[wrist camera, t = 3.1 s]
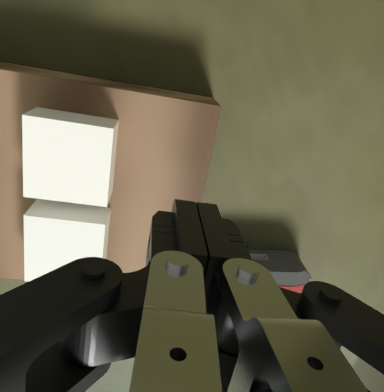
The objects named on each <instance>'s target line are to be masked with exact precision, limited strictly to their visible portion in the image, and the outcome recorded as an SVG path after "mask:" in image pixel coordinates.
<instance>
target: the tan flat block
mask: <svg viewBox="0 0 384 392" xmlns="http://www.w3.org/2000/svg"><path fill="white" fill-rule="evenodd" d="M36 107H40V108H46V109H52V110H59V111H65V112H72V113H78V114H85V115H91V116H97V117H104V118H110V119H117V120H119V126H118V136H117V147H116V158H115V169H114V180H113V191H112V194H111V197H110V200H109V203H108V206H107V208H111V213H110V224H109V235H108V246H107V257H106V259H108V260H110V261H112V262H114V263H116V264H117V265H118V266H119V267H120V268H121V270H122V272H123V273H129V272H134V271H138V270H140V269H142V268H144V267H146V253H147V247H148V240H149V234H150V228H151V222H152V216H153V215H154V214H155V213H156V212H157V211H167V212H172V207H173V202H174V199H179V200H186V201H194V202H195V203H196V202H202V197H203V192H204V187H205V182H206V177H207V172H208V167H209V162H210V157H211V152H212V147H213V142H214V137H215V132H216V127H217V122H218V117H219V112H220V107H221V106H220V105H219V104H218V102H217V101H216V100H215V99H214V98H212V97H206V96H200V95H195V94H189V93H183V92H177V91H171V90H165V89H159V88H153V87H147V86H142V85H136V84H130V83H124V82H118V81H112V80H106V79H100V78H94V77H88V76H83V75H77V74H71V73H65V72H59V71H53V70H47V69H41V68H35V67H30V66H24V65H18V64H12V63H6V62H0V277H2V278H13V279H23V280H24V216H23V215H24V214H25V213H26V212H27V210H28V209H29V208H30V207H31V205H32V204H33V203H34V202H35V201H36V198H28V197H23V149H22V114H24V113H26V112H28V111H30V110H32V109H34V108H36ZM42 200H44V199H42ZM50 201H52V200H50ZM59 202H60V201H59ZM67 203H68V202H67ZM75 204H77V203H75ZM83 205H85V204H83ZM91 206H93V205H91ZM99 207H101V206H99Z"/></svg>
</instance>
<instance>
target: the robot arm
mask: <svg viewBox="0 0 384 392" xmlns="http://www.w3.org/2000/svg"><path fill="white" fill-rule="evenodd" d="M341 346H344V347H345V348H347V349H348V350H349V351H351V352H352V353H354V354H355V355H357V356H358V357H359V358H361V359H362V360H364V361H365V362H367V363H368V364H369V365H371V366H372V367H374V368H375V369H377V370H378V371H380V372H381V373H382V374H384V315H383V314H382V313H380V312H378V311H377V310H375V309H373V308H372V307H370V306H368V305H367V304H365V303H363V302H362V301H360V300H358V299H357V298H355V297H353V296H352V295H350V294H348V293H347V292H345V291H343V290H342V289H340V288H338V287H336V286H334V285H331V284H328V283H325V282H320V281H312V282H308V283H306V284H305V285H304V287H303V290H302V293H298V292H294V291H291V290H288V289H285V288H282V287H279V286H278V285H277V283H276V281H275V280H274V278H273V276H272V275H271V273H270V272H269V271H268V270H267V269H266V268H265V267H264V266H262V265H261V264H259V263H257V262H254V261H252V258H251V256H250V254H249V251H248V249H247V247H246V245H245V244H244V240H243V238H242V237H241V233H240V231H239V229H238V227H237V226H236V225H235V224H234V223H233V222H231V221H230V220H229V219H222V218H221V215H220V212H219V210H218V207H217V205H216V204H209V203H201V202H196V203H195V202H194V201H186V200H179V199H174V202H173V207H172V212H167V211H157V212H156V213H155V214H154V215H153V216H152V222H151V228H150V234H149V240H148V247H147V253H146V267H144V268H142V269H140V270H138V271H134V272H129V273H123V272H122V270H121V268H120V267H119V266H118V265H117V264H116V263H114V262H112V261H110V260H108V259H104V258H99V257H85V258H80V259H77V260H74V261H72V262H70V263H68V264H66V265H63V266H61V267H59V268H57V269H55V270H53V271H51V272H49V273H46V274H44V275H42V276H40V277H38V278H36V279H34V280H31V281H29V282H27V283H25V284H23V285H21V286H19V287H17V288H14V289H12V290H10V291H8V292H6V293H4V294H2V295H0V392H85V391H86V390H87V389H88V388H89V387H90V386H92V385H93V384H94V383H95V382H96V381H97V380H98V379H100V378H101V377H102V376H103V375H104V374H105V373H106V372H107V371H108V369H109V367H110V365H111V362H115V361H120V360H124V359H129V358H133V357H135V360H134V366H133V372H132V378H131V384H130V390H129V392H370V391H369V390H368V389H366V387H365V386H364V384H363V383H362V381H361V380H360V378H359V377H358V375H357V374H356V372H355V371H354V369H353V368H352V367H351V365H350V364H349V362H348V361H347V359H346V358H345V356H344V355H343V353H342V352H341V350H340V348H341Z"/></svg>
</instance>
